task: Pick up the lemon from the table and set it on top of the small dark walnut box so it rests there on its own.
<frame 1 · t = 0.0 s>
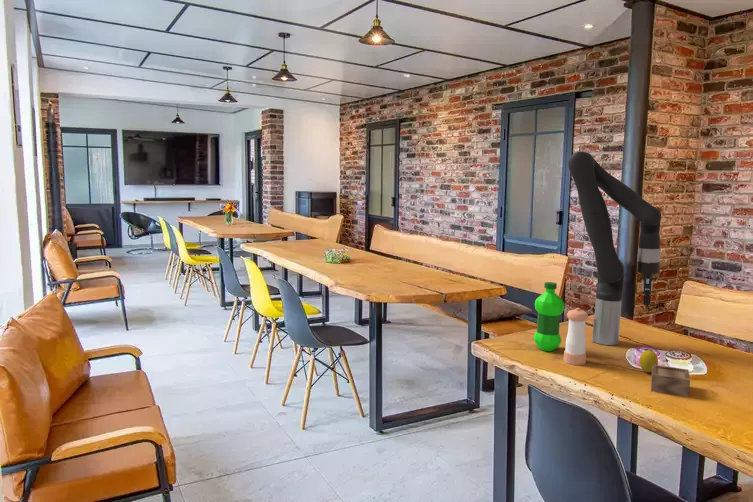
hand: (646, 302, 209), 17 cm above the table, tool pointing down, fingers open, 8 cm apart
lemon: (647, 373, 184), on the table
walnut box: (669, 389, 171), on the table
plastic bottle: (546, 349, 208), on the table
salt shaker: (574, 362, 194), on the table
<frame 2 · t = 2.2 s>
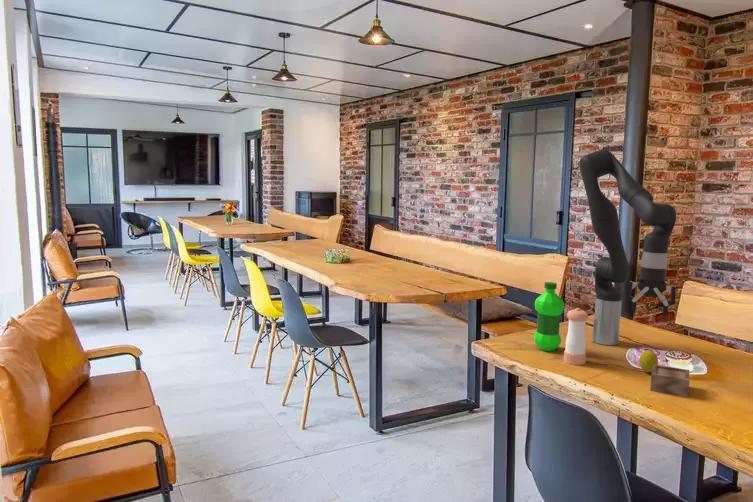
hand: (648, 314, 181), 20 cm above the table, tool pointing down, fingers open, 8 cm apart
nothing on the table moved.
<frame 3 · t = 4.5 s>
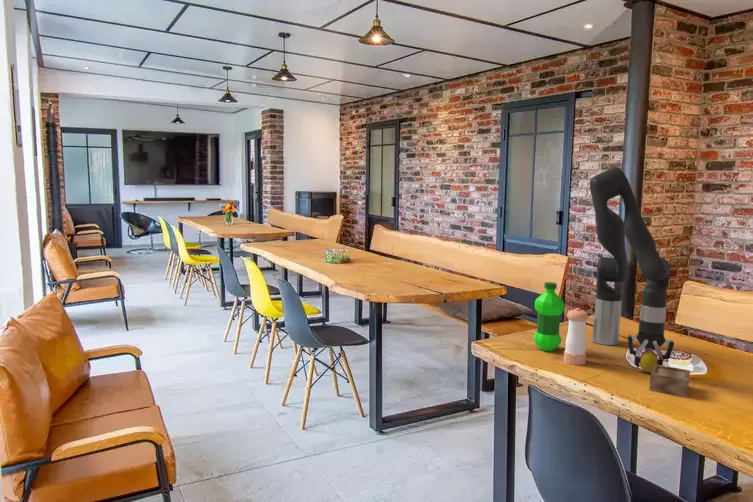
hand: (648, 368, 184), 2 cm above the table, tool pointing down, fingers closed on lemon, 5 cm apart
lemon: (647, 373, 184), on the table, touching gripper
everything else where it was.
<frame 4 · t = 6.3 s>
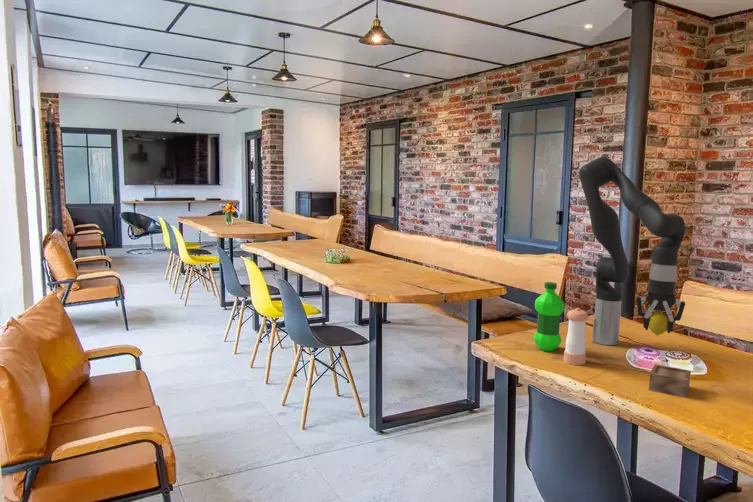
hand: (657, 330, 175), 16 cm above the table, tool pointing down, fingers closed on lemon, 5 cm apart
lemon: (656, 336, 176), point 14 cm above the table, touching gripper
everything else where it was.
when the fingers open (8 cm above the table, at t = 8.6 s): lemon drops 2 cm, resting on walnut box.
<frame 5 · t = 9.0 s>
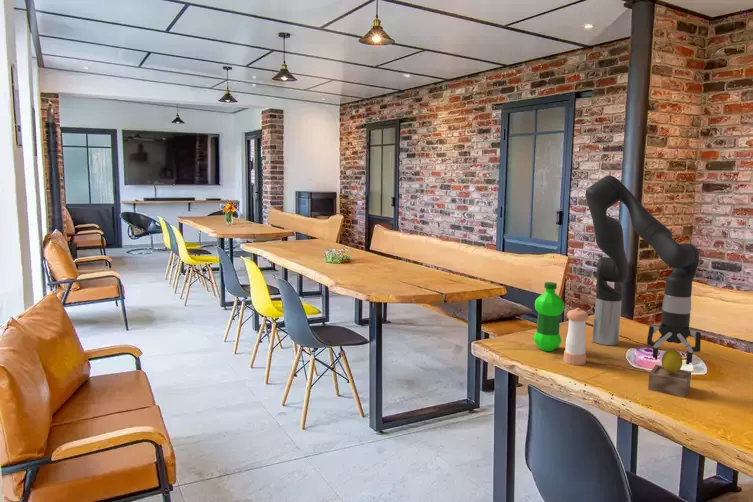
hand: (671, 361, 170), 9 cm above the table, tool pointing down, fingers open, 8 cm apart
lemon: (670, 374, 170), point 4 cm above the table, touching walnut box
walnut box: (668, 389, 171), on the table, touching lemon
everything else where it was.
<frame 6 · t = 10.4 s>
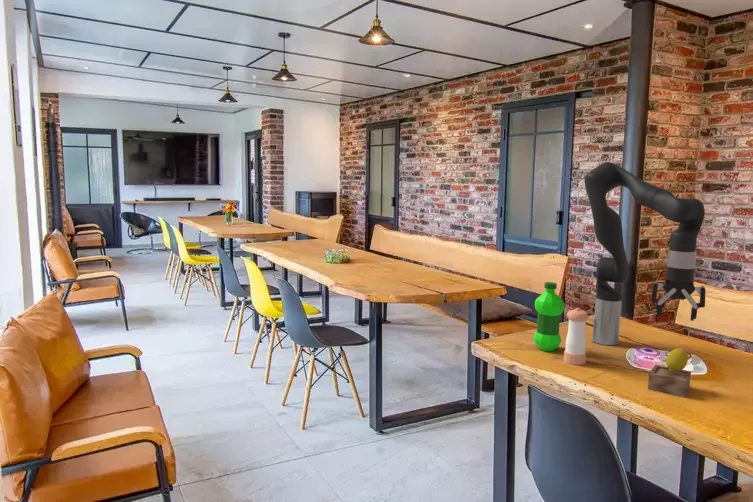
hand: (675, 318, 168), 22 cm above the table, tool pointing down, fingers open, 8 cm apart
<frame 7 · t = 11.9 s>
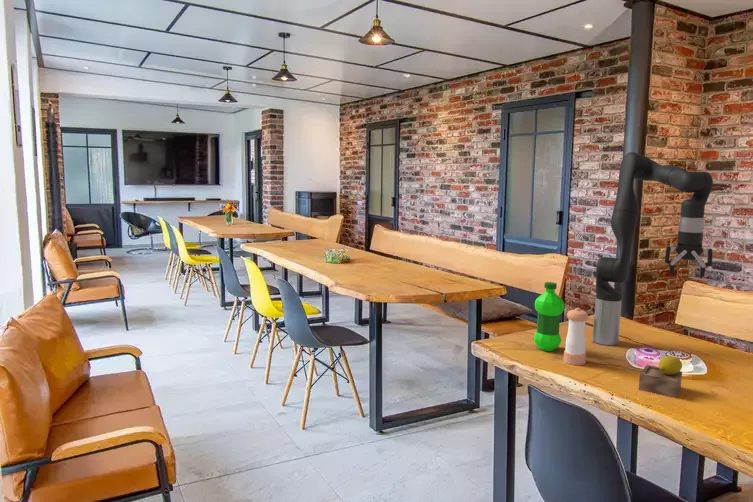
hand: (686, 276, 193), 30 cm above the table, tool pointing down, fingers open, 8 cm apart
lemon: (660, 368, 168), point 7 cm above the table, touching walnut box
walnut box: (659, 390, 171), on the table, touching lemon
everything else where it was.
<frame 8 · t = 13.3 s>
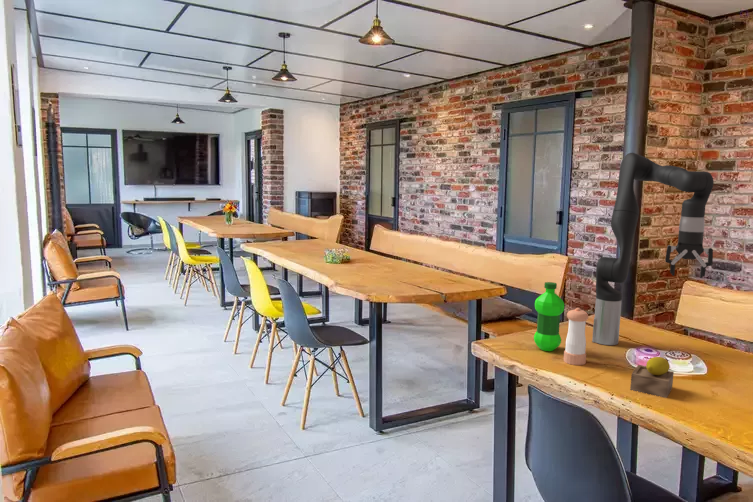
hand: (687, 276, 193), 30 cm above the table, tool pointing down, fingers open, 8 cm apart
lemon: (647, 367, 168), point 7 cm above the table, touching walnut box
walnut box: (651, 390, 171), on the table, touching lemon
everything else where it was.
at the end: lemon inside the target area on the walnut box (3.4 cm from its centre), point 7.7 cm above the walnut box's base; lemon touching walnut box; the gripper is holding nothing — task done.
